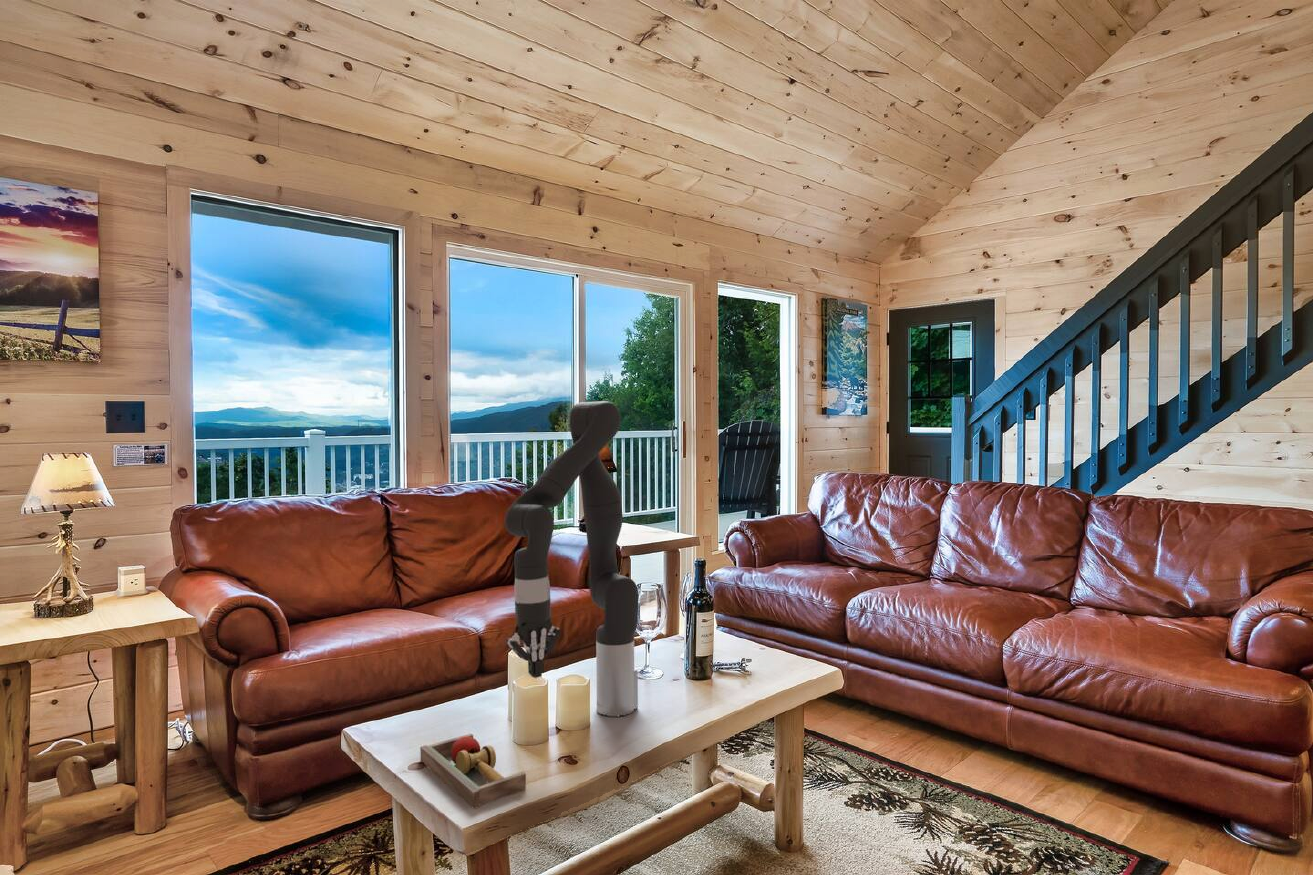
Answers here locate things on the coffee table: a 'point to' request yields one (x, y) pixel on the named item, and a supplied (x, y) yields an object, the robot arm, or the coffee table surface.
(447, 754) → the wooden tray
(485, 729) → the coffee table surface
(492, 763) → the kendama
